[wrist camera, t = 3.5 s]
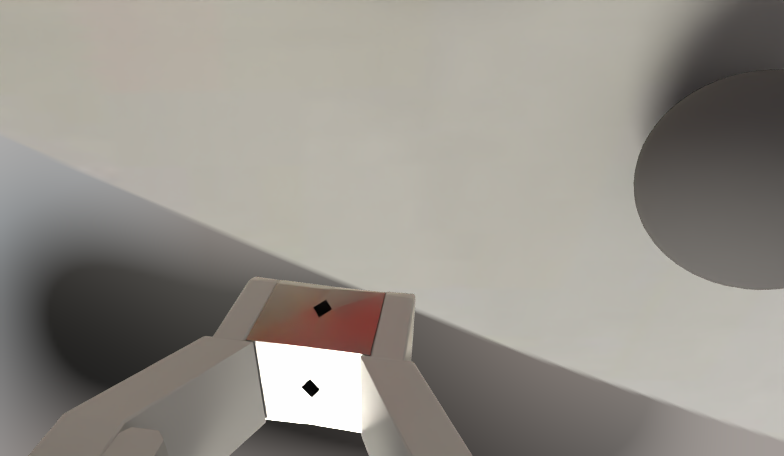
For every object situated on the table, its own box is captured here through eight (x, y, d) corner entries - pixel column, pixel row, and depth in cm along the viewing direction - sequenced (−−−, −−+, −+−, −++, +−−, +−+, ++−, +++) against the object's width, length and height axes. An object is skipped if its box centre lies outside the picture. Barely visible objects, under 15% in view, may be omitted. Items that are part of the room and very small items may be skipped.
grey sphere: (644, 39, 14) (727, 103, 9) (859, 53, 13) (1060, 129, 9) (593, 208, 17) (637, 321, 12) (767, 226, 16) (881, 351, 12)
